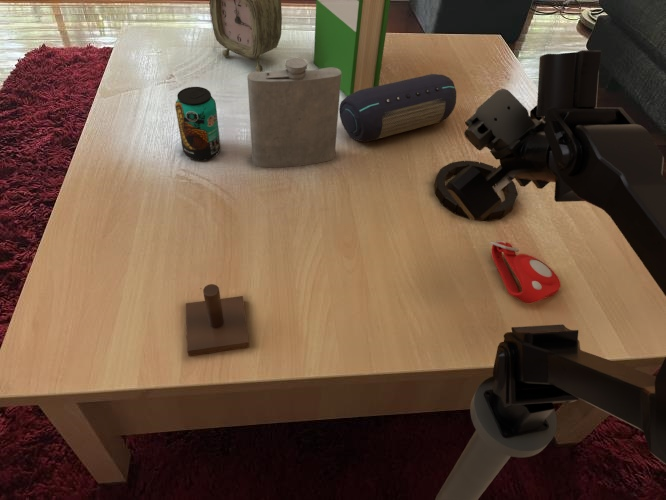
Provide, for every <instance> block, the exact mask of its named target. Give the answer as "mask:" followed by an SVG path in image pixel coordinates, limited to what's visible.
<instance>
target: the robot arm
mask: <svg viewBox="0 0 666 500" xmlns="http://www.w3.org/2000/svg"><path fill="white" fill-rule="evenodd" d="M601 60H602V51H601V50H598V49H597V50H594V49H593V50H589V49H588V50H587V49H586V50H585V49H584V50H583V49H581V50H579V51H574V52H572V51H571V52H562V53H546V54H543V55H540V57H539V65H538V81H537V82H538V83H537V98H536V99H537V101H536V105H535V106H534V107H533V108H532V109H530V111H529V110H528V108H526V107H525V105H523V103H521V102H520V100H519V99H518V98H517V97H516V96H514V94H513V93H512V92H511V91H510V90H509V89H506V88H500V89H498V90H497V91H496V92H494V93H493V94H492V95H491V96H490V97H488V98H487V99H486V100H485V101H483V103H481V104H480V105H479V106H478V107H477V108H476V110H475V113H474V114H472V115H471V116H470V117H469V118H468V119H467V120H466V121H465V122H464V124H465V126H466V127H467V128H466V129H465V130H464V132H463V133H464V134H463V136H464V137H465V138H466V139H467V140H468V142H470V143H471V145H472V146H473V147H474V148H475V149H476V150H478V151H482V150H483V149H484V148H487V149H488V150H489V152H490V154H491V155H492V156H493V158H494V159H495V160H498V161H499V165H498V166H497V167H496V169H495V170H494V171H493V172H492V173H490V174H489V175H488V176H487V177H486V178H485V177H484V176H483V174H482V173H481V172H480V171H479V170H478V169H477V168H475V167H474V166H469V164H468V165H467V166H466V167H465V168H464V169H462V170H461V171H460V172H459V173H458V174H457V175H454V176H452V177H451V178H450V180H449V181H448V182H447V183H446V187H447V190H448V191H449V193H450V194H451V195H452V196H453V198H454V199H455V200H456V202H457V203H458V204H459V205H460V207H461V208H462V209H463V211H464V212H465V213H466V214H467V216H468V217H469V218H470V219H469V220H471V219H472V221H476V222H483V221H482V220H483V219H485V218H486V217H487V216H488V215H489V214H490V213H492V212H493V211H494V210H495V209H496V208H497V207H499V206H500V205H501V204H502V202H503V201H502V198H501V197H500V195H499V194H498V193H500V191H502V190H501V189H502V188H504V187H505V186H506V185H507V184H508V183H509V182H511V181H513V180H514V179H515V181H516V182H517V183H518V185H519V186H520V187H522V188H523V187H525V188H526V186H527V185H528V184H530V183H531V182H532V183H533V185H534V186H535V187H536V189H541V190H543V189H544V188H545V187H546V186H547V185H548V184H550V183H555V184H554V201H555V202H556V203H566V202H569V203H570V202H586V203H588V204H591V205H593V206H594V207H597V208H598V209H601V210H602V211H604V213H606V214H607V215H608V217H609V218H610V219H611V220H612V222H613V223H614V225H615V226H616V227H617V229H618V230H619V232H620V233H621V234H622V236H623V238H624V239H625V241H627V244H628V245H629V246H630V247H631V249H632V250H633V252H634V253H635V254H636V256H637V258H638V259H639V260H640V261H641V263H642V264H643V266H644V267H645V269H646V270H647V272H648V273H649V274H650V276H651V278H652V279H653V280H654V282H655V283H656V284H657V286H658V288H659V289H660V291H661V292H662V294H663V295H664V296H665V297H666V179H665V177H664V176H663V172H664V165H665V164H664V163H665V157H664V155H663V153H662V152H661V150H660V149H659V146H658V145H657V143H656V142H655V141H654V138H653V137H652V136H651V133H650V132H649V131H648V129H646V128H645V127H644V126H642V125H641V124H637V123H636V122H635V121H634V119H632V117H631V116H630V115H629V114H628V113H627V111H625V109H624V108H623V107H597V105H598V92H599V91H598V90H599V75H600V68H601ZM505 176H506V177H505ZM503 178H504V179H503ZM500 180H501V181H500ZM498 182H499V183H498ZM492 376H494V379H495V384H494V386H493V388H492V390H486V391H485V392H484V397H485V400H486V402H487V404H488V406H489V408H490V411H491V413H492V415H493V417H494V420H495V422H496V424H497V426H498V428H499V431H500V433H501V435H502V437H504V438H510V437H515V436H520V435H525V434H530V433H535V432H540V431H545V430H547V429H548V428H549V424H548V422H547V420H546V418H547V417H548V416H549V415H550V413H551V412H552V411H553V410H554V411H555V405H554V404H555V403H557V404H558V403H574V402H577V401H579V400H581V401H582V402H585V403H586V404H589V405H591V406H593V407H595V408H596V409H598V410H600V411H603V412H604V413H606V414H608V415H610V416H613V417H615V419H616V418H617V419H618V420H620V421H621V422H623V423H626V424H627V425H630V426H632V427H633V428H635V429H638V430H640V431H641V432H643V435H644V439H645V441H646V444H647V448H648V451H649V453H651V454H652V455H653V456H654V457H655V458H656V459H658V460H659V461H660V462H661V463H663V464H664V465H665V466H666V357H665V358H664V360H663V361H662V364H661V366H660V367H659V370H658V372H657V374H656V375H652V374H650V373H647V372H645V371H641V370H639V369H635V368H633V367H630V366H627V365H624V364H621V363H619V362H615V361H613V360H610V359H607V358H605V357H601V356H598V355H596V354H593V353H590V352H587V351H584V350H582V349H581V342H580V340H579V329H570V328H568V327H566V326H565V324H545V325H544V324H543V325H529V326H512V327H511V331H507V332H505V333H504V334H503V341H500V342H499V343H498V346H497V347H496V354H495V359H494V363H493V367H492ZM486 393H487V394H489V396H488V395H487V394H486ZM543 425H545V426H546V427H544V426H543ZM504 432H505V433H507V435H505V434H504Z"/></svg>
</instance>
